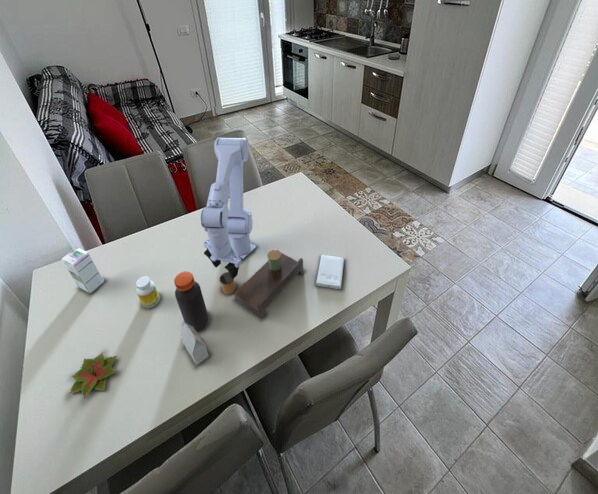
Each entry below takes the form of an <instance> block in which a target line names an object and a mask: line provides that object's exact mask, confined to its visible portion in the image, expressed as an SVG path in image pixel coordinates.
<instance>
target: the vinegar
mask: <svg viewBox="0 0 598 494" xmlns="http://www.w3.org/2000/svg"><path fill="white" fill-rule="evenodd" d="M173 280H174V281H173V282H174V285H175V291H174V298H175V299H176V303H177V305H178V308H179V311H180V312H181V316H182V319H183V323H185V322H186V323H187V324H188V325H191V326H193V327H194V328H195V330H196V331H197V332H199V331H200V332H201V331H202V330H204V329H205V328H206V327H207V325H208V324H209V319H210V318H209V317H210V316H209V314H208V309H207V305H206V303H205V299H204V295H203V292H202V288H201V286H200V284H199V282H197V281H196V280H195V277H194V275H193V273H192V272H191V271H182V272H180V273H178V274H176V276H175V277H174V279H173ZM186 323H185V324H186Z"/></svg>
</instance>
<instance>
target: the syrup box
mask: <svg viewBox="0 0 598 494" xmlns="http://www.w3.org/2000/svg"><path fill="white" fill-rule="evenodd" d="M61 261H62V263H63V264H64V266H65V268H66V269H67V271H68V272H69V274H70V275H71V277H72V279H73V280H74V281H75V284H76V285H77V286H78V288H79V289H80V290H83V291H84V292H87V293H88V294H92V293H93V292H95V291H96V290H97V289H98V288H99V287H100V286H101V285H103V284H104V283H105V279H104V277H103V275H102V274H101V272H100V270H99V268H98V267H97V265H96V263H95V261H94V259H93V258H92V256H91V254H90V252H88V251H86V250H84V249H81V248H80V247H77V246H76V247H75V248H74V249H72V250H71V251H69V252H68V253H67V254H66V255H64V256H63V257H62V258H61Z"/></svg>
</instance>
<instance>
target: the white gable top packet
mask: <svg viewBox="0 0 598 494" xmlns="http://www.w3.org/2000/svg"><path fill="white" fill-rule="evenodd" d="M185 323H186V322H183V326H182V330H181V333H180V336H181V340H182V342H183V345H184V347H185V349H186V350H187V352H188V354H189V355H190V357H191V359H192V360H193V362H194V363H195V365H196V366H198V365H199V364H201V362H203V361H204V360H206V359H207V358H208V357H209V356H210V354H209V353H208V349H207V345H206V343H205V342H204V340H203V339H202V338H201V335H200V334H199V333H198V331H196V330H195V328H194V327H193V326H191V325H188V324H187V323H186V324H185Z"/></svg>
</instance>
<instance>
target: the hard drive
mask: <svg viewBox="0 0 598 494" xmlns="http://www.w3.org/2000/svg"><path fill="white" fill-rule="evenodd" d="M344 265H345V257H340V256H334V255H327V254H321V256H320V261H319V266H318V270H317V271H318V272H317V277H316V283H315V286H318V287H322V288H329V289H335V290H341V289H342V281H343V273H344Z"/></svg>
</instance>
